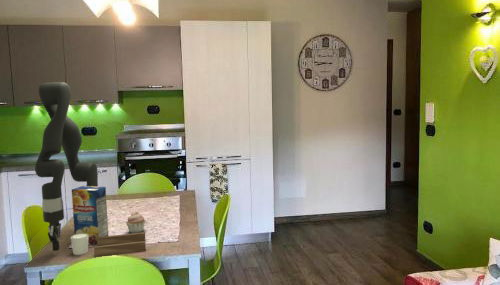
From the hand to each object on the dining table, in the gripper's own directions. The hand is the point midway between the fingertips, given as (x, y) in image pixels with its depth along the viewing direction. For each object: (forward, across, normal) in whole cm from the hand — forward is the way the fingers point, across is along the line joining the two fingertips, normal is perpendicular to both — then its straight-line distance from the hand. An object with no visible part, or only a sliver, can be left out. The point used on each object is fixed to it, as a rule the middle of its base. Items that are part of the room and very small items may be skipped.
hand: (56, 250), depth 162 cm
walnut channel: (+2, 0, +25) cm, 25 cm away
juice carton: (+2, -13, +12) cm, 18 cm away
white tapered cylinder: (+2, 0, +9) cm, 9 cm away
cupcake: (+2, -20, +31) cm, 37 cm away
